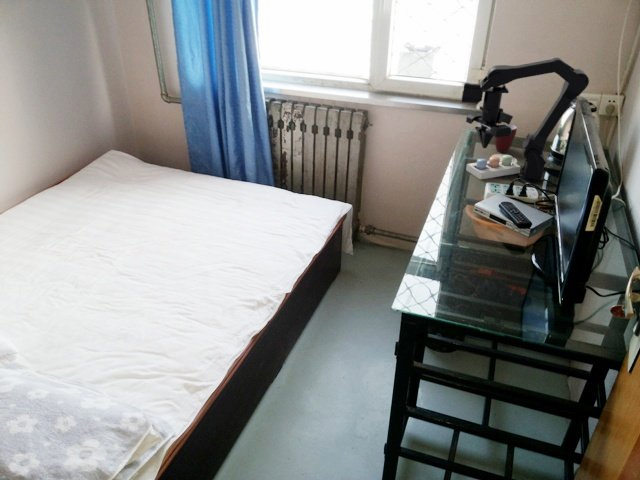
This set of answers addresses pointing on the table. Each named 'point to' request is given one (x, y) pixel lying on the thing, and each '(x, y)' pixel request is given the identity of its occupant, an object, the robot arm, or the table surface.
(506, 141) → the mug
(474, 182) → the table surface
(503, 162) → the sage button
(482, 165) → the slate button
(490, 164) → the terracotta button
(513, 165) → the panel
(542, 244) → the table surface
